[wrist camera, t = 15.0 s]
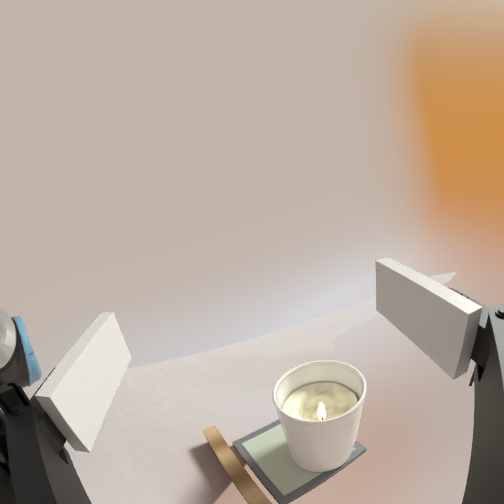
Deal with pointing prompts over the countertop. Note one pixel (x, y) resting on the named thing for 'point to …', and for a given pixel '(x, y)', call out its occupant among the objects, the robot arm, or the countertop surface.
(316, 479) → the square tile
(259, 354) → the countertop surface
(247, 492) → the brown wooden bar
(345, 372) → the candle holder
